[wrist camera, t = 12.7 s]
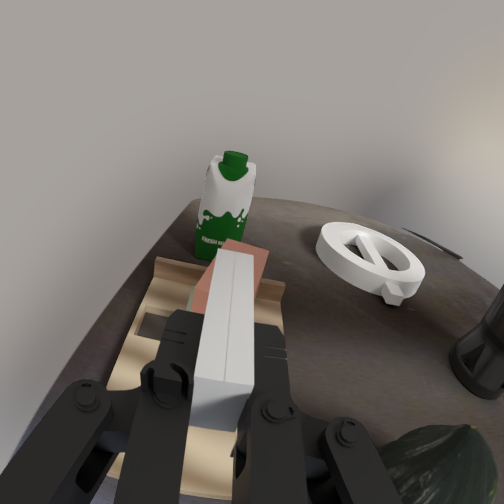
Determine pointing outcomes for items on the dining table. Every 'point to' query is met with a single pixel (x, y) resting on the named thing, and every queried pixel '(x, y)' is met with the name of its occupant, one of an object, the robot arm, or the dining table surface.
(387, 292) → the ring with crossbar
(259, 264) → the brick
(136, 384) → the board
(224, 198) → the milk carton
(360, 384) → the dining table surface
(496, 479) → the squash
